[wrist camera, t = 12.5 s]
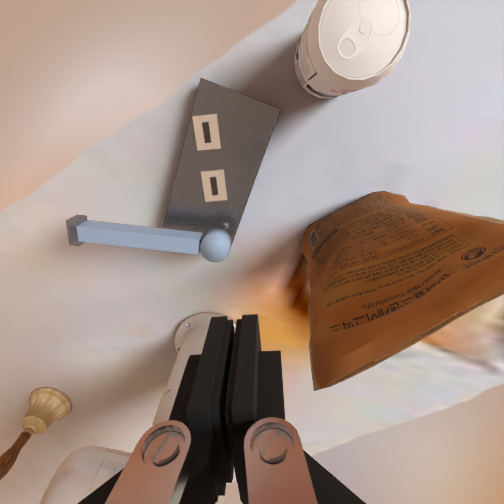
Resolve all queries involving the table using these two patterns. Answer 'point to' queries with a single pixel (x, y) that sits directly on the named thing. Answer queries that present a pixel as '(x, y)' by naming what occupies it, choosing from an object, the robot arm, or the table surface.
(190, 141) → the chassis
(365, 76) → the supplement can
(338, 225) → the pancake mix bag
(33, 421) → the hand bell
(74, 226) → the bar
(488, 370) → the table surface
